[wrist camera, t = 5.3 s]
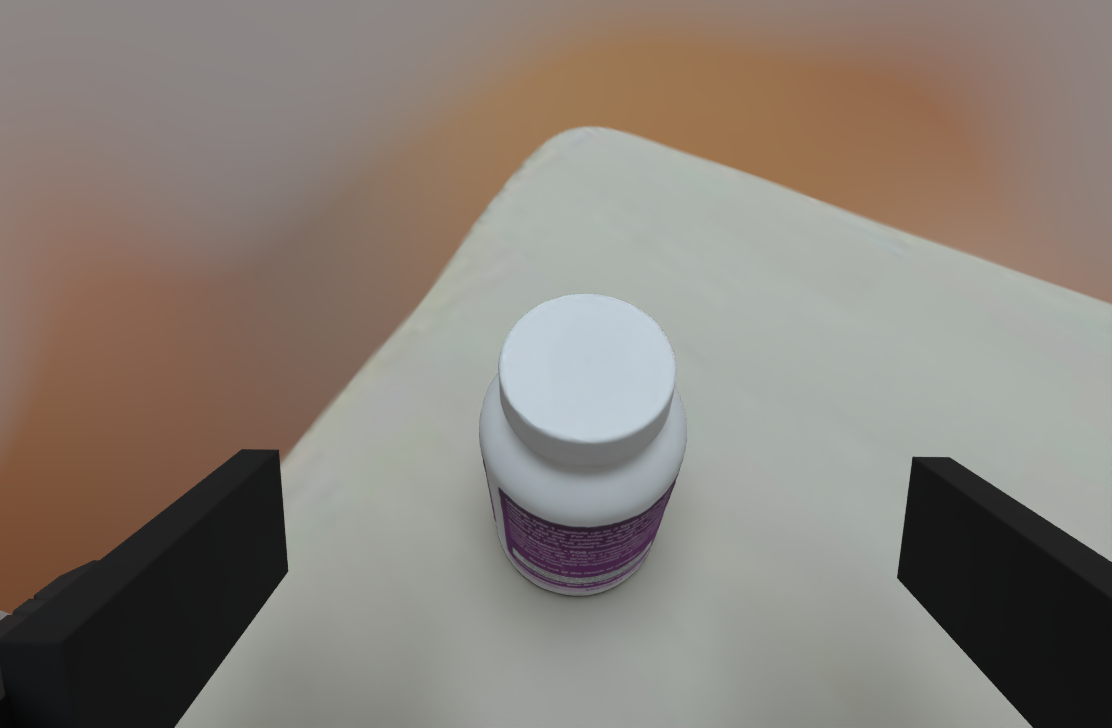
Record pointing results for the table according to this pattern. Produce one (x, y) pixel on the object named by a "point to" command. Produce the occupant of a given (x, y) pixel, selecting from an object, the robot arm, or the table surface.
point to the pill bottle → (582, 441)
